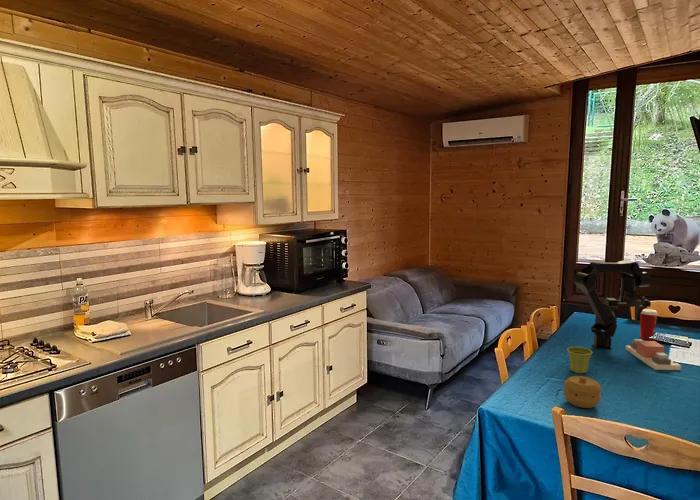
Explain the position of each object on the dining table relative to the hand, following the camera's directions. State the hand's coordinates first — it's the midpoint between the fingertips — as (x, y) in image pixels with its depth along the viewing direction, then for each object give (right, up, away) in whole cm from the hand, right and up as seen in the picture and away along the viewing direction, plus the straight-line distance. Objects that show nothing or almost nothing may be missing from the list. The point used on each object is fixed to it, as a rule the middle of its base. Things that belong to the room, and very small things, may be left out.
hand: (625, 320), depth 226 cm
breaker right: (0, -12, -27) cm, 29 cm away
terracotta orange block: (0, -12, -18) cm, 22 cm away
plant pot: (-36, -17, -29) cm, 50 cm away
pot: (-50, -21, -59) cm, 80 cm away
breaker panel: (+1, -14, -17) cm, 23 cm away
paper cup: (+17, -11, +11) cm, 23 cm away
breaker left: (+1, -10, -9) cm, 13 cm away
